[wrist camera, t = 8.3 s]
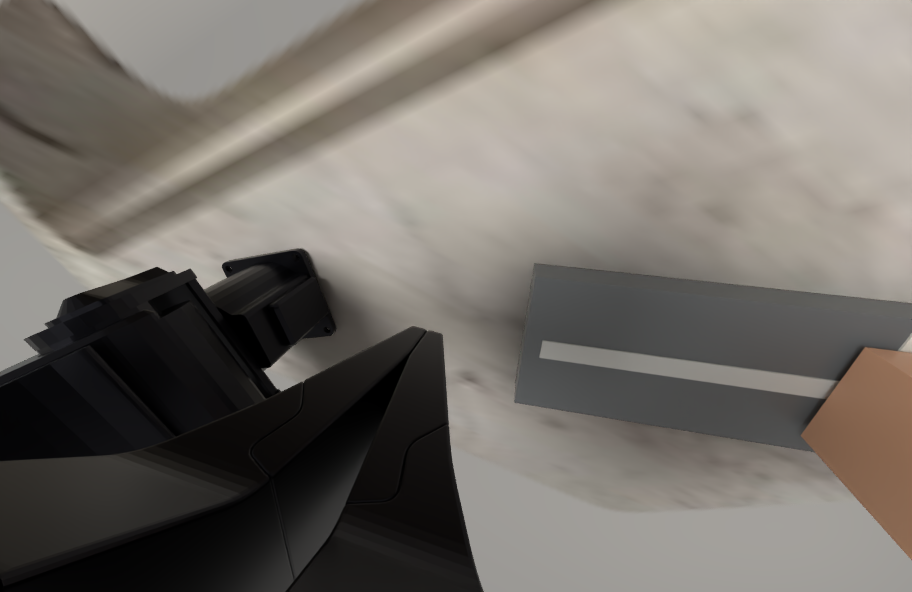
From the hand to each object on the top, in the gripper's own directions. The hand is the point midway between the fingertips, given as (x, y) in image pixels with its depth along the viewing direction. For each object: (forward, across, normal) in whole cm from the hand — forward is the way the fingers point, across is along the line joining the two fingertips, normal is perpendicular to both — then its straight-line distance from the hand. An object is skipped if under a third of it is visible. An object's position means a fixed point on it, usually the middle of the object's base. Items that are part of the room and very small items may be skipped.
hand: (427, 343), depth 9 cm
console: (+12, -14, +5) cm, 20 cm away
